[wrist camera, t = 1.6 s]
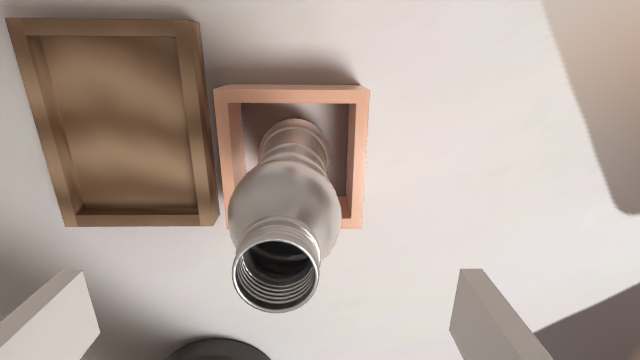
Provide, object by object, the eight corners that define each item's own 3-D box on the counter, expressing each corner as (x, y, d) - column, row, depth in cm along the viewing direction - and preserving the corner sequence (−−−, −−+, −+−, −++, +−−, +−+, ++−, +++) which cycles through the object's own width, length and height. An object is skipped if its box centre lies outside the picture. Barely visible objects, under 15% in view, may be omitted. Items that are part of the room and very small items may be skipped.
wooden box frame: (355, 205, 34) (361, 228, 30) (238, 205, 34) (226, 229, 29) (360, 85, 30) (369, 90, 26) (228, 84, 30) (212, 89, 25)
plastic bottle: (329, 113, 31) (357, 198, 12) (329, 181, 33) (352, 339, 15) (260, 114, 31) (182, 202, 12) (265, 182, 33) (206, 343, 15)
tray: (219, 214, 34) (213, 226, 32) (82, 215, 34) (65, 226, 32) (199, 23, 28) (189, 20, 26) (30, 21, 28) (4, 17, 25)
